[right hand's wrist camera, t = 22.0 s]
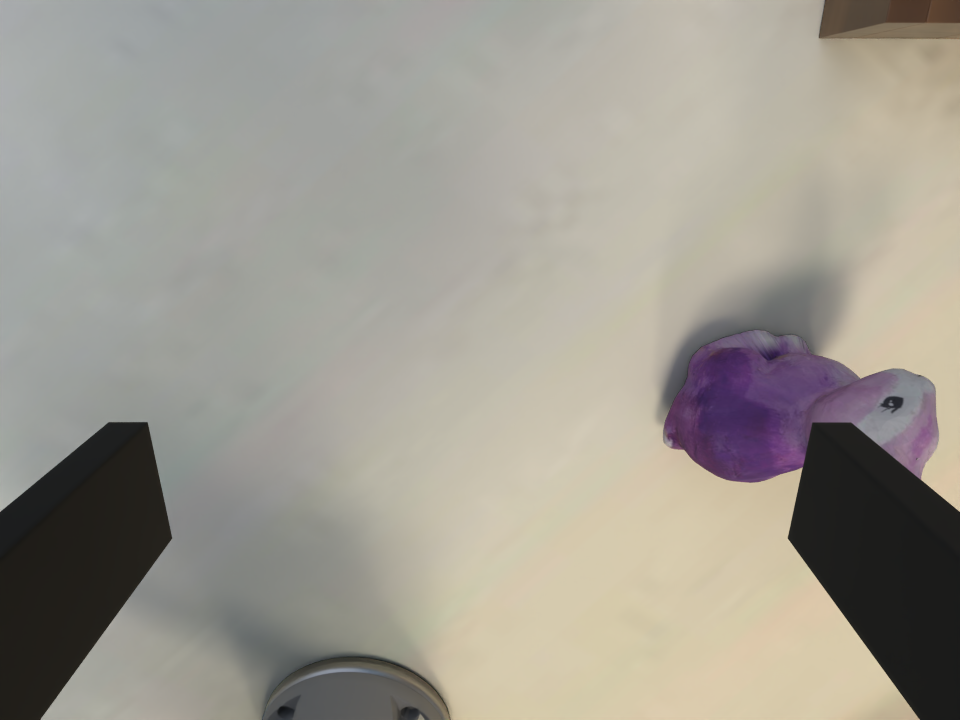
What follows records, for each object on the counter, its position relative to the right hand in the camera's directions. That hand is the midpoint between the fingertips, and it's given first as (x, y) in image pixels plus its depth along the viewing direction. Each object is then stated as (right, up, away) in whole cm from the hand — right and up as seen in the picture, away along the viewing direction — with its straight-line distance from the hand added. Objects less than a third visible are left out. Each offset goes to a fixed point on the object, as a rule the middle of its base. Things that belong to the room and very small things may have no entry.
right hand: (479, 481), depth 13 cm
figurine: (+17, +1, +28) cm, 33 cm away
